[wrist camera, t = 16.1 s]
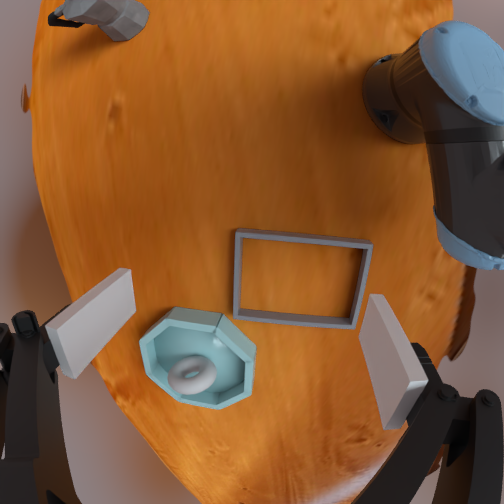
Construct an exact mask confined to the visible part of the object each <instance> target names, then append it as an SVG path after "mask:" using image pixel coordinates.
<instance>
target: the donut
mask: <svg viewBox="0 0 504 504" xmlns="http://www.w3.org/2000/svg"><path fill="white" fill-rule="evenodd" d="M193 372H199V373H198V374H197V375H195V376H193V377H189V378H185V376H187V375H188V374H190V373H193ZM216 375H217V369H216V366H215V364H214V363H213V362H212V361H211V360H210V359H208V358H206V357H202V356H190V357H187V358H183V359H182V360H180V361H178V362H176V363H175V364H174V365H173V366H172V367H171V369H170V370H169V373H168V376H167V379H168V384H169V385H170V387H171V388H172V389H173V390H174V391H176V392H178V393H180V394H185V395H190V394H197V393H200V392H202V391H204V390H206V389H207V388H209V387H210V386H211V385H212V384H213V382H214V381H215V379H216Z"/></svg>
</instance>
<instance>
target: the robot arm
mask: <svg viewBox="0 0 504 504" xmlns="http://www.w3.org/2000/svg"><path fill="white" fill-rule="evenodd" d="M362 91H363V100H364V104H365V107H366V109H367V111H368V114H369V115H370V117H371V119H372V120H373V122H374V123H375V124H376V125H377V127H378V128H379V129H380V130H381V131H383V132H384V133H385V134H386V135H388V136H389V137H391V138H393V139H395V140H397V141H400V142H403V143H408V144H419V143H426V148H427V154H428V160H429V166H430V173H431V180H432V188H433V197H434V206H433V212H434V216H435V218H436V225H437V235H438V239H439V242H440V243H441V245H442V246H443V248H444V250H445V251H446V252H447V253H448V254H449V255H451V256H452V257H453V258H455V259H456V260H458V261H460V262H462V263H464V264H466V265H469V266H472V267H475V268H479V269H484V270H492V269H493V268H496V269H497V270H503V269H504V51H503V49H502V48H501V47H500V46H499V45H498V44H497V43H496V42H494V41H493V40H492V39H491V38H490V37H489V36H488V35H487V34H486V33H485V32H483V31H482V30H480V29H478V28H476V27H475V26H473V25H470V24H468V23H465V22H460V21H445V22H442V23H440V24H438V25H437V26H435V27H433V28H431V29H429V30H426V31H425V32H424V33H423V34H422V36H421V37H420V38H419V39H418V40H417V41H416V42H415V43H413V44H412V45H411V46H410V47H409V48H408V49H407V50H406V51H404V52H403V53H401V54H390V55H387V56H384V57H382V58H380V59H379V60H377V61H376V62H375V63H374V64H373V65H372V66H371V67H370V69H369V70H368V71H367V73H366V75H365V78H364V81H363V89H362ZM135 312H136V306H135V299H134V292H133V284H132V276H131V269H125V268H119V269H118V270H116V271H115V272H113V273H112V274H111V275H109V276H108V277H107V278H105V279H104V280H103V281H101V282H100V283H99V284H97V285H96V286H95V287H93V288H92V289H91V290H89V291H88V292H87V293H85V294H84V295H83V296H81V297H80V298H79V299H78V300H76V301H75V302H74V303H71V304H69V305H67V306H65V307H64V308H63V309H62V310H60V312H58V313H56V314H55V316H53V317H51V318H50V319H49V320H48V321H47V322H45V323H44V324H43V325H42V326H40V327H39V324H38V321H37V318H36V315H35V313H34V312H33V311H30V310H26V311H21V312H19V313H17V314H16V315H14V316H13V317H12V319H11V320H12V323H13V326H14V329H15V331H16V333H11V332H10V330H9V327H8V325H7V324H5V323H0V363H1V364H2V367H3V368H2V370H0V504H82V503H81V502H80V500H79V499H78V497H77V495H76V492H75V489H74V485H73V481H72V477H71V473H70V469H69V464H68V459H67V454H66V448H65V443H64V436H63V429H62V422H61V413H60V403H59V390H58V375H57V371H56V368H57V367H58V366H59V365H60V367H61V370H62V372H63V374H64V375H66V376H68V377H70V378H73V379H76V378H77V377H78V375H79V374H80V373H81V372H82V371H83V370H84V369H85V367H86V366H87V365H88V364H89V363H90V362H91V361H92V359H93V358H94V357H95V356H96V355H97V354H98V353H99V351H100V350H101V349H102V348H103V347H104V346H105V345H106V344H107V342H108V341H109V340H110V339H111V338H112V337H113V336H114V335H115V334H116V333H117V331H118V330H119V329H120V328H121V327H122V326H123V325H124V324H125V323H126V322H127V320H128V319H129V318H130V317H131V316H132V315H133V314H134V313H135ZM359 340H360V343H361V347H362V350H363V353H364V357H365V360H366V364H367V367H368V371H369V374H370V378H371V382H372V385H373V389H374V393H375V397H376V401H377V405H378V409H379V413H380V417H381V421H382V425H383V430H389V429H399V428H401V427H402V425H403V424H404V422H405V420H407V423H408V426H409V427H408V428H407V430H406V431H405V433H404V434H403V436H402V437H401V438H400V440H399V441H398V444H397V445H396V447H395V448H394V449H393V451H392V452H391V454H390V455H389V457H388V458H387V459H386V461H385V462H384V463H383V465H382V466H381V468H380V469H379V470H378V471H377V473H376V474H375V475H374V477H373V478H372V479H371V480H370V482H369V483H368V484H367V485H366V486H365V488H364V489H363V490H362V491H361V492H360V494H359V495H358V496H357V497H356V498H355V499H354V500H353V502H352V503H351V504H409V503H410V502H411V500H412V499H413V497H414V495H415V494H416V492H417V490H418V489H419V487H420V485H421V484H422V482H423V480H424V479H425V477H426V475H427V473H428V471H429V470H430V468H431V466H432V464H433V462H434V460H435V458H436V456H437V454H438V452H439V450H440V448H441V446H442V444H445V447H444V453H443V458H442V464H441V469H440V473H439V478H438V482H437V486H436V490H435V494H434V498H433V501H432V504H500V501H501V492H502V480H503V457H504V456H503V455H504V454H503V453H504V452H503V451H504V449H503V448H504V445H503V422H502V410H501V402H500V399H499V397H498V396H497V395H496V394H495V393H494V392H493V391H490V390H487V389H483V390H480V391H479V392H478V393H477V394H476V396H475V397H474V398H467V397H460V396H459V393H458V391H457V390H456V389H455V388H454V387H452V386H450V385H448V384H443V382H442V380H441V378H440V376H439V374H438V372H437V370H436V369H435V367H434V365H433V364H432V361H431V359H430V358H429V356H428V354H427V352H426V350H425V349H424V348H423V347H422V346H421V345H420V344H418V343H410V342H409V340H408V338H407V336H406V335H405V333H404V331H403V329H402V327H401V325H400V323H399V322H398V320H397V318H396V316H395V314H394V313H393V311H392V309H391V307H390V306H389V304H388V302H387V300H386V299H385V297H384V295H382V294H370V296H369V300H368V304H367V308H366V312H365V316H364V319H363V323H362V327H361V331H360V334H359ZM4 443H5V458H4V459H1V457H2V452H3V448H4Z"/></svg>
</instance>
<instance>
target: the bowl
mask: <svg viewBox="0 0 504 504" xmlns="http://www.w3.org/2000/svg"><path fill="white" fill-rule="evenodd" d="M139 344H140V349H141V353H142V358H143V363H144V367H145V371H146V374H147V376H148V377H149V378H151V379H152V380H153V381H154V382H155V383H156V384H157V385H159V386H160V387H161V388H162V389H163V390H165V391H166V392H167V393H168V394H169V395H171V396H172V397H173V398H174V399H176V400H177V401H179V402H182V403H187V404H192V405H196V406H201V407H206V408H212V409H217V410H219V409H222V408H224V407H227V406H229V405H231V404H233V403H235V402H238V401H240V400H242V399H244V398H246V397H248V396H250V395H251V394H252V388H253V383H254V376H255V363H256V350H257V347H256V345H255V344H254V343H253V342H252V341H251V340H249V339H248V338H247V337H246V336H245V335H244V334H243V333H242V332H241V331H240V330H239V329H238V328H237V327H236V326H235V325H234V324H233V323H232V322H231V321H230V320H229V319H228V318H227V317H226V316H225V315H224V314H222V313H217V312H209V311H202V310H195V309H188V308H181V307H173V308H172V309H171V310H170V311H169V312H167V313H166V314H165V315H164V316H163V317H162V318H160V319H159V320H158V321H157V322H156V323H155V324H153V325H152V326H151V327H150V328H149V329H148V330H147V331H146V333H145V334H144V335H143V336H142V338H141V339H140V340H139ZM190 356H202V357H206V358H208V359H210V360H211V361H212V362H213V363H214V364H215V366H216V369H217V375H216V379H215V381H214V382H213V384H212V385H211V386H210V387H209V388H207V389H206V390H204V391H202V392H200V393H197V394H190V395H185V394H180V393H178V392H176V391H174V390H173V389H172V388H171V387H170V385H169V384H168V379H167V376H168V373H169V370H170V369H171V367H172V366H173V365H174V364H175V363H176V362H178V361H180V360H182V359H183V358H187V357H190ZM198 373H199V372H193V373H190V374H188V375H187V376H185V378H189V377H193V376H195V375H197V374H198ZM244 378H245V379H244Z"/></svg>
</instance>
